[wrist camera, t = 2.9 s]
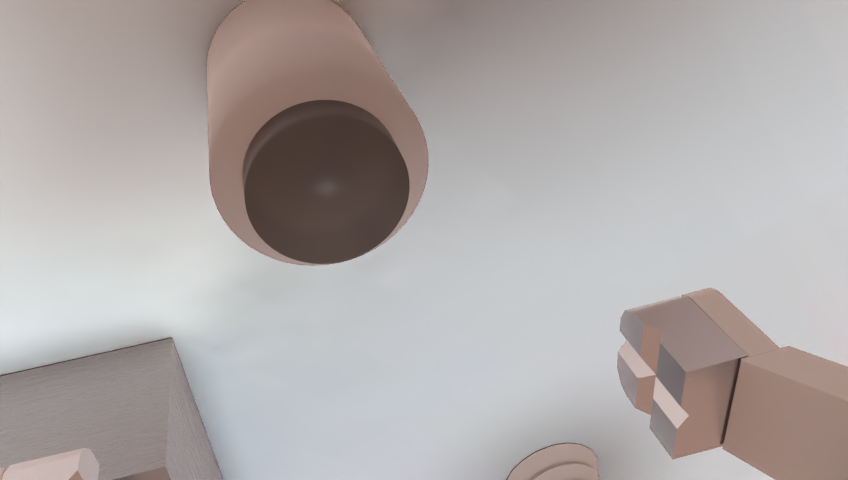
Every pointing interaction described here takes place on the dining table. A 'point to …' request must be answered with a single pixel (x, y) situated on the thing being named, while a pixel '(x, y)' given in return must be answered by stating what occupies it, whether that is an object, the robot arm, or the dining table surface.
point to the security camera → (308, 134)
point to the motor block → (109, 415)
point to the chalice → (558, 464)
